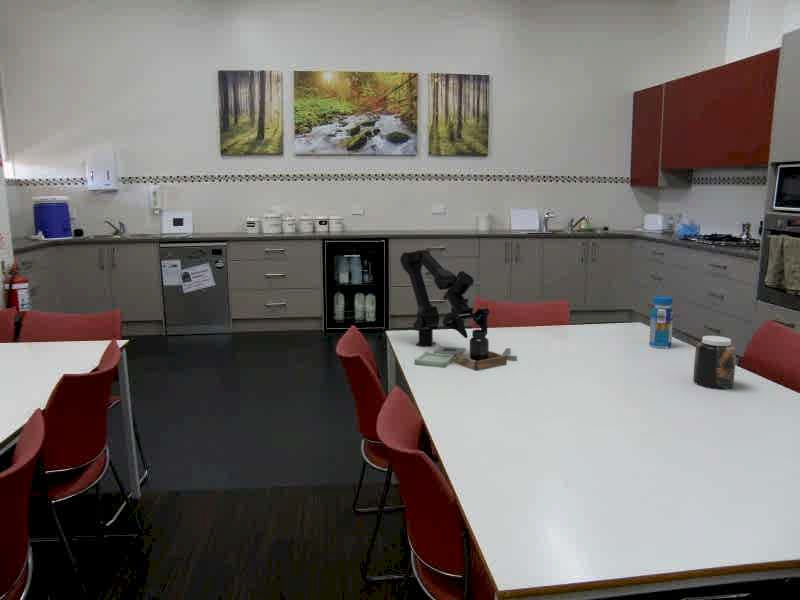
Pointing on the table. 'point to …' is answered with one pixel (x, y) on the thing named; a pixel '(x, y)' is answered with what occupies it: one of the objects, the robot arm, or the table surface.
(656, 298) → the beverage bottle
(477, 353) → the supplement bottle
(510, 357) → the crook tool
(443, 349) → the hole plate
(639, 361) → the table surface
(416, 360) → the tray
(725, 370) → the jar
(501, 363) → the u-shaped bracket
